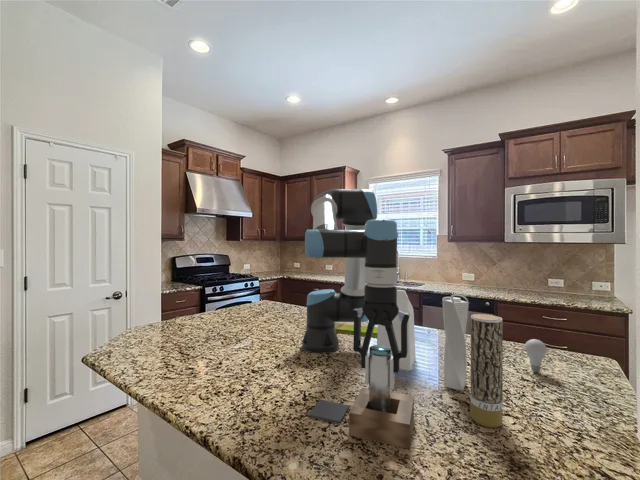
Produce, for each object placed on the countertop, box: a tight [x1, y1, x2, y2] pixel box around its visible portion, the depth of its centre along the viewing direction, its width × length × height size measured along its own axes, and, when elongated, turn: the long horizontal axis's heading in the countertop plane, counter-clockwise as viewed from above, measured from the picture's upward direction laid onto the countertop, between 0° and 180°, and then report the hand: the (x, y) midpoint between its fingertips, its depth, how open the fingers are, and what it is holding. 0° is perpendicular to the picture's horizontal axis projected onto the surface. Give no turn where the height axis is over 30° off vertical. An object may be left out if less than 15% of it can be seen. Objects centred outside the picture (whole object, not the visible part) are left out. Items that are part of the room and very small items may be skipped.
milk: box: [376, 289, 417, 372], centre depth 113 cm, size 12×12×26 cm
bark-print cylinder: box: [470, 313, 504, 429], centre depth 76 cm, size 7×7×25 cm
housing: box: [348, 387, 415, 450], centre depth 73 cm, size 13×13×5 cm
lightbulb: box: [524, 338, 548, 373], centre depth 105 cm, size 6×6×11 cm
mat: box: [308, 399, 350, 425], centre depth 79 cm, size 8×8×1 cm
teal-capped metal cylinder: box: [368, 344, 392, 413], centre depth 74 cm, size 5×5×15 cm
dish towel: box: [335, 322, 378, 339], centre depth 155 cm, size 15×36×3 cm, turn 67°
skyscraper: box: [442, 293, 470, 392], centre depth 95 cm, size 8×8×28 cm
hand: (379, 383), depth 74 cm, fingers closed on teal-capped metal cylinder, 5 cm apart
